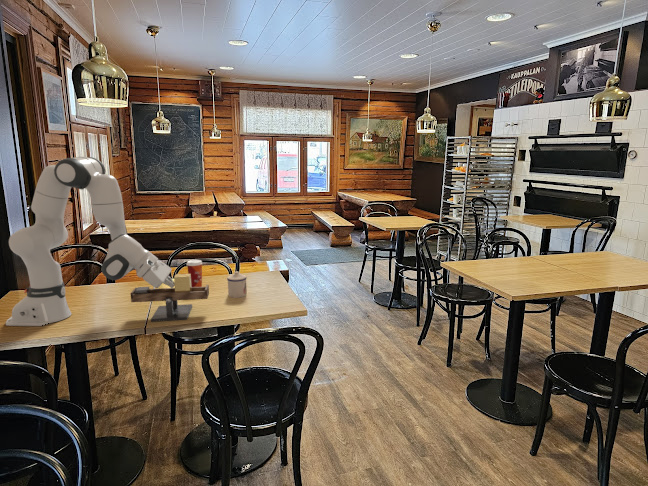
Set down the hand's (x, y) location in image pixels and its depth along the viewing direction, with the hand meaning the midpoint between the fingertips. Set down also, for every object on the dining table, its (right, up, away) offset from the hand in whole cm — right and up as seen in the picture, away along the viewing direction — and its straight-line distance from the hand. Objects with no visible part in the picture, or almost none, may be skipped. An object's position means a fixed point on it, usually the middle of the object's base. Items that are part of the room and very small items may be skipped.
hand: (174, 285), depth 175 cm
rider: (+4, -3, +1) cm, 5 cm away
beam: (-2, -6, +1) cm, 6 cm away
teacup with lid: (+21, -7, +28) cm, 35 cm away
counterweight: (-13, -4, -1) cm, 13 cm away
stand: (-2, -12, +3) cm, 13 cm away
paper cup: (-2, -5, +37) cm, 38 cm away
